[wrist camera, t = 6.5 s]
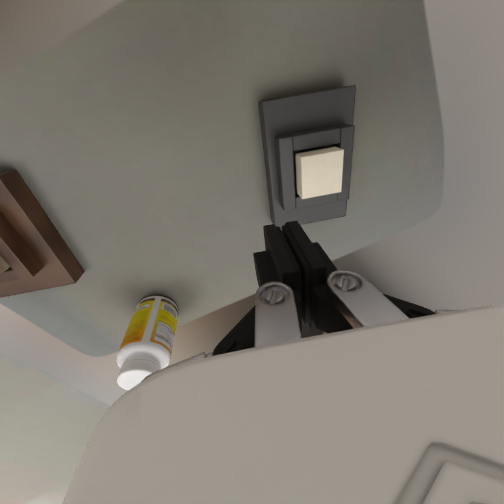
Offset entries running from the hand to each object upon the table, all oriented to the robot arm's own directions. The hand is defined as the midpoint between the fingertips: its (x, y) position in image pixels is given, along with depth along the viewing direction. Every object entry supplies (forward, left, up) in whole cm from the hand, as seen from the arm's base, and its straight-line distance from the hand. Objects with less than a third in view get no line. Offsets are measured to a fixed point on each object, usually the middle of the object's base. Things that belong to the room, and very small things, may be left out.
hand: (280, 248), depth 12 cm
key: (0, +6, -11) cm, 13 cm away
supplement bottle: (+16, -15, -15) cm, 27 cm away
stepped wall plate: (0, +6, -15) cm, 16 cm away
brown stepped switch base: (+2, -26, -15) cm, 30 cm away
